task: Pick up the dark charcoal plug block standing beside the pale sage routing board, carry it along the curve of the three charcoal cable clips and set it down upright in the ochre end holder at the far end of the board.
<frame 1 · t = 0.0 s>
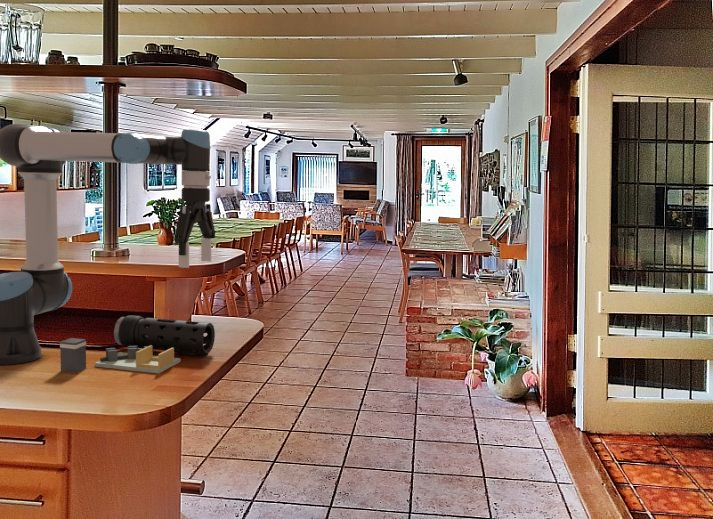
hand: (195, 264, 194), 28 cm above the worktop, fingers open, 13 cm apart
end holder: (155, 367, 192), resting on route board
route board: (138, 364, 194), on the worktop
plug: (73, 369, 187), on the worktop
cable: (138, 364, 194), resting on route board
muzzle brake: (164, 353, 207), on the worktop
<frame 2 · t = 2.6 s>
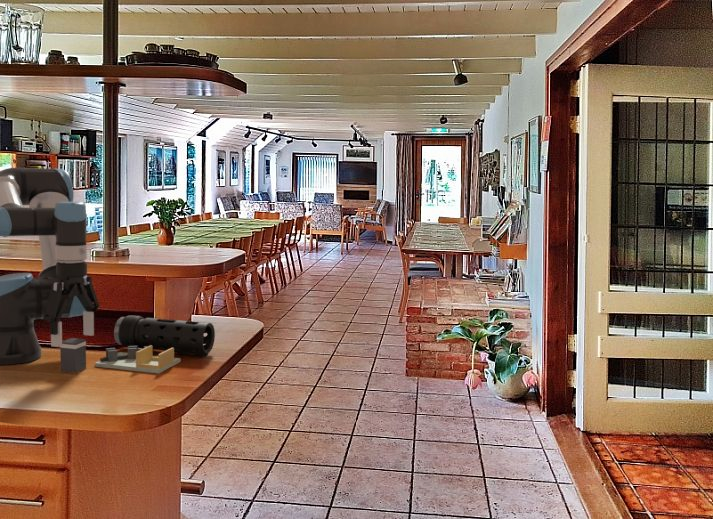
hand: (73, 340, 186), 8 cm above the worktop, fingers open, 13 cm apart
nothing on the worktop moved.
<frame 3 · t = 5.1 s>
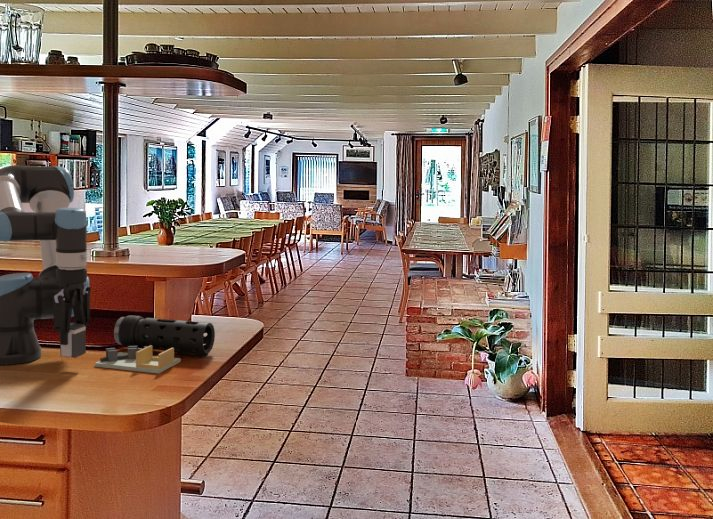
hand: (72, 353, 187), 4 cm above the worktop, fingers closed on plug, 5 cm apart
plug: (73, 354, 187), point 4 cm above the worktop, touching gripper
everything else where it was.
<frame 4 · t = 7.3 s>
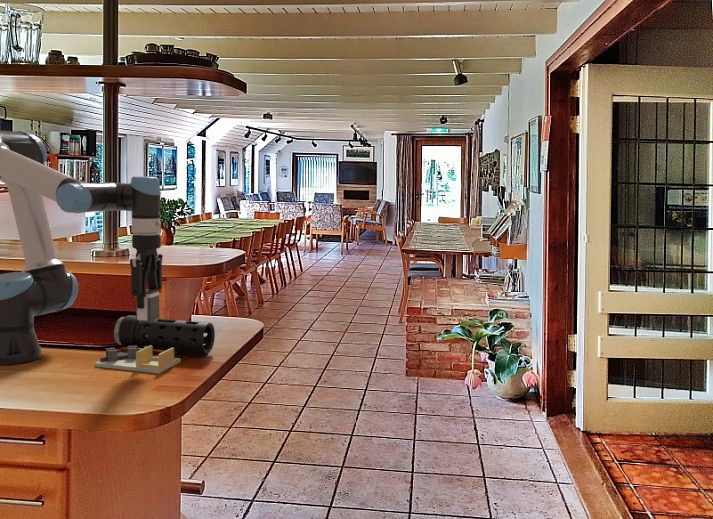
hand: (147, 317, 193), 13 cm above the worktop, fingers closed on plug, 5 cm apart
plug: (147, 319, 193), point 13 cm above the worktop, touching gripper
everything else where it was.
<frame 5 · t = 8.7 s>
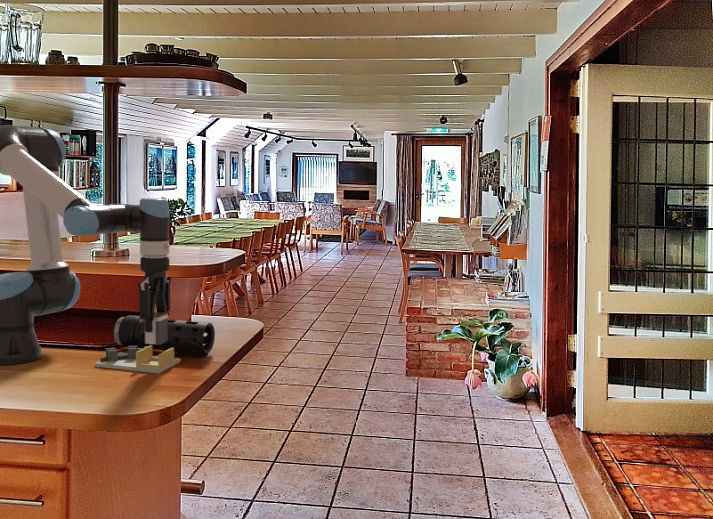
hand: (155, 341, 191), 7 cm above the worktop, fingers closed on plug, 5 cm apart
plug: (156, 342, 191), point 7 cm above the worktop, touching gripper
everything else where it was.
when the fingers open (3 cm above the worktop, at t = 9.8 s): plug drops 1 cm, resting on route board.
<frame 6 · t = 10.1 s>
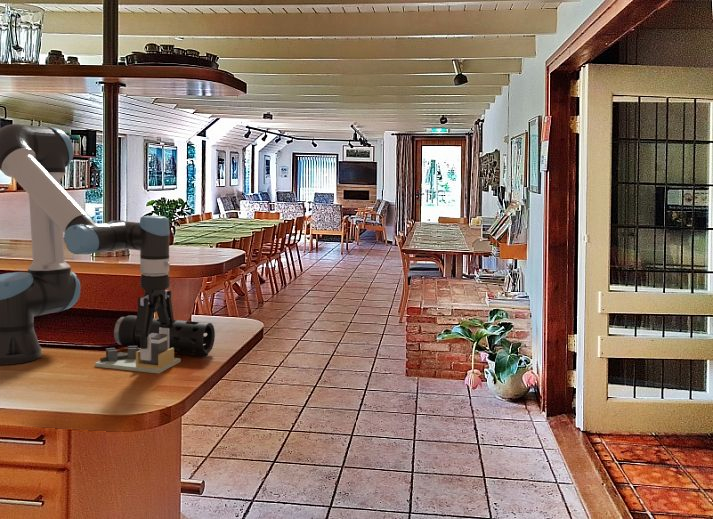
hand: (155, 355, 191), 4 cm above the worktop, fingers open, 9 cm apart
plug: (155, 364, 191), point 1 cm above the worktop, touching route board
everything else where it was.
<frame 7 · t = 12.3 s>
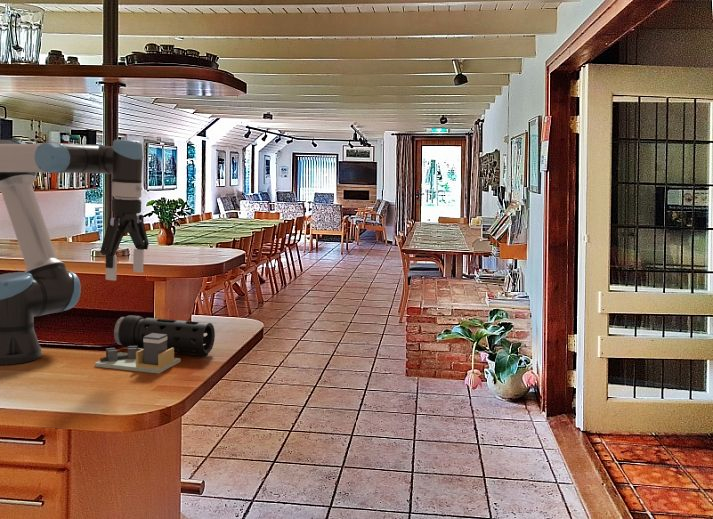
hand: (125, 276, 191), 25 cm above the worktop, fingers open, 13 cm apart
nothing on the worktop moved.
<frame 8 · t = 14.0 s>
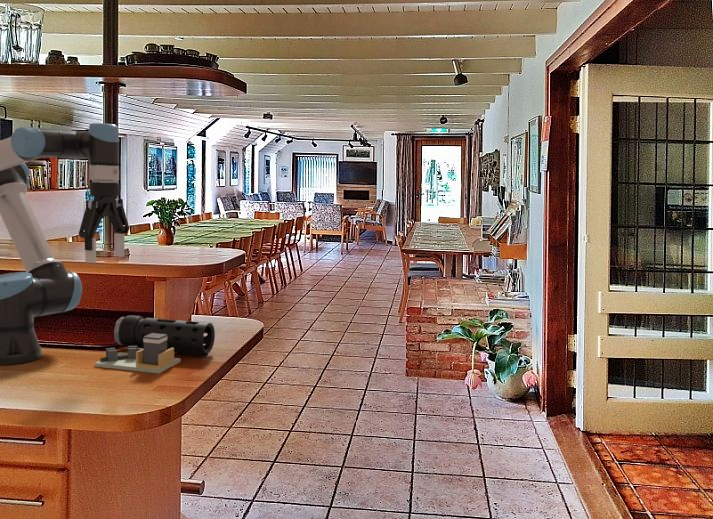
hand: (105, 259, 192), 29 cm above the worktop, fingers open, 13 cm apart
nothing on the worktop moved.
at the end: plug 0.1 cm off-centre on the end holder, point 1.0 cm above the end holder's base; plug tilted 0°; the gripper is holding nothing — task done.
